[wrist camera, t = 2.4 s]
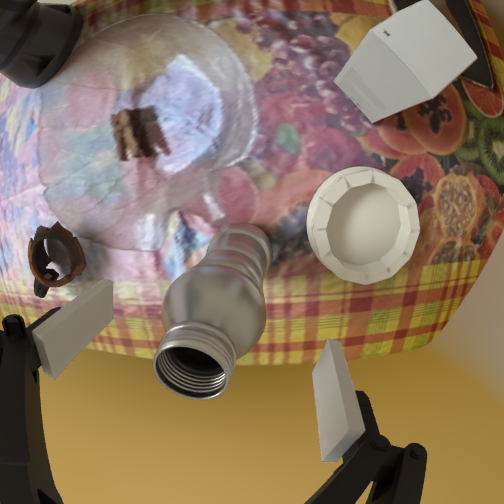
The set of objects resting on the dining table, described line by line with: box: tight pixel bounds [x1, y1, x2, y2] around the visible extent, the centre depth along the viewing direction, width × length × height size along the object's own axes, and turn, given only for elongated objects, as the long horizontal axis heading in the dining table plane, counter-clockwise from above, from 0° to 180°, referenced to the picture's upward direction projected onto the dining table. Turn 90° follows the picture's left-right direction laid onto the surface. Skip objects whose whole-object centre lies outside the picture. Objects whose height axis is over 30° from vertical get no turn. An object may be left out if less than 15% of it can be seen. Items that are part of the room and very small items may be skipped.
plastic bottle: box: [153, 223, 273, 400], centre depth 21 cm, size 6×7×20 cm
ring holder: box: [306, 167, 420, 285], centre depth 26 cm, size 12×12×3 cm
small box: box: [334, 0, 477, 123], centre depth 17 cm, size 8×6×13 cm
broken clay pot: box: [28, 221, 86, 298], centre depth 30 cm, size 12×10×8 cm
